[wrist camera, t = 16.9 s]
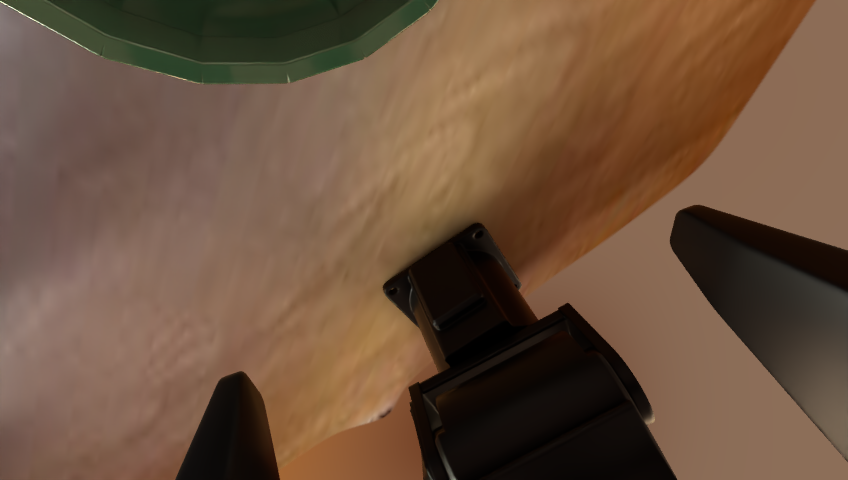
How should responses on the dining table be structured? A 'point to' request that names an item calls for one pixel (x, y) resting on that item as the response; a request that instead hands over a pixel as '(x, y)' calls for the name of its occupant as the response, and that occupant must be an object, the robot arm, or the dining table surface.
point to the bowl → (228, 34)
